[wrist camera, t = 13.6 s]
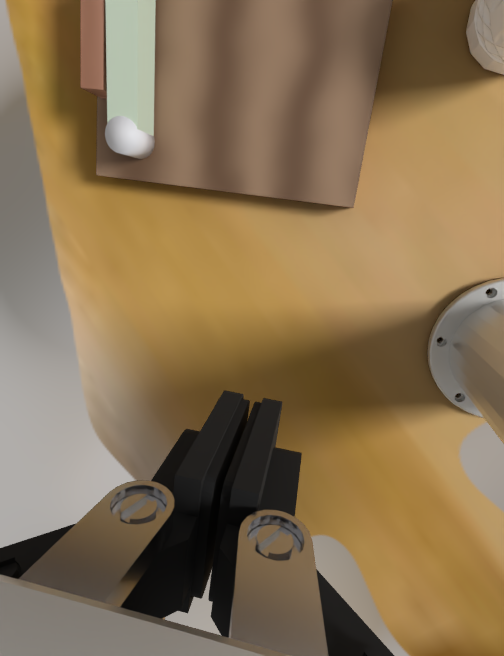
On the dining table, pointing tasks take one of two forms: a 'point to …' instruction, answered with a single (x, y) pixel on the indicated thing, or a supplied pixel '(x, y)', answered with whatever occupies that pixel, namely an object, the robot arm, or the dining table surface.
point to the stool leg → (130, 76)
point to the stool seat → (251, 95)
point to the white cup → (487, 34)
